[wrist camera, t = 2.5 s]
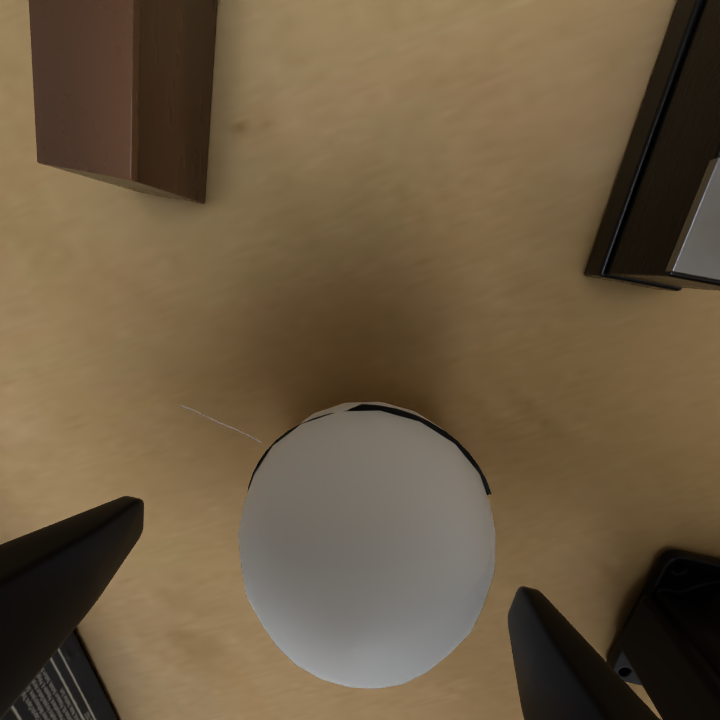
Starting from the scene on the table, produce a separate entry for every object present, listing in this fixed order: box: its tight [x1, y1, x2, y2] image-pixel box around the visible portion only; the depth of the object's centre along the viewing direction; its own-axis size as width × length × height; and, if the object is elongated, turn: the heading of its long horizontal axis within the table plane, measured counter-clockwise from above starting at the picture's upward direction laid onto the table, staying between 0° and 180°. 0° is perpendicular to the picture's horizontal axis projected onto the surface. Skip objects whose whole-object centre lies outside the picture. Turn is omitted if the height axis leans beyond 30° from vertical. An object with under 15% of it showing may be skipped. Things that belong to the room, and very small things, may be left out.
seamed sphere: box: [180, 402, 496, 689], centre depth 11 cm, size 10×7×7 cm
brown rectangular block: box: [29, 0, 217, 204], centre depth 10 cm, size 2×8×4 cm, turn 170°
